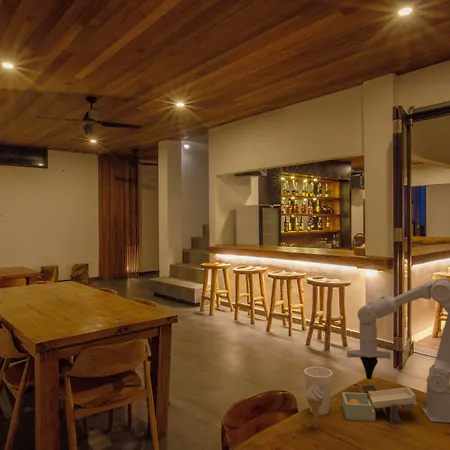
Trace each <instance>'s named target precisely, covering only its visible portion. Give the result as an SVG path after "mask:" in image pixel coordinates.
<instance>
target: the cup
mask: <svg viewBox="0 0 450 450" xmlns="http://www.w3.org/2000/svg"><path fill="white" fill-rule="evenodd" d="M351 399H355V400H357V401H358V402H359V404H353V403H348V401H349V400H351ZM341 408H342V411H343V415H344V417H345V420H346V421H362V422H376V411H375V408H374V406H373V404H372V402H371V399H370V398H368V394H367V393H364V392H351V391H350V392H348V391H347V392H345V391H343V392H341Z"/></svg>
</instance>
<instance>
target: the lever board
mask: <svg viewBox="0 0 450 450" xmlns="http://www.w3.org/2000/svg"><path fill="white" fill-rule="evenodd" d="M361 388H362V392H363V393H367V395H368V396H369V400H370V402H371V404H372V406H373V408H374V409H380V408H381V407H390V406H392V405H398V406H401V407H402V409H403V410H404V411H412V410H415V405H416V406H417V405H418V403H417V397H416V393H414V392H413V390H412V389H411V388H410V385H405V386H404V387H399V388H389V389H383V390H381V389H380V390H377V389H376V388H375V385H374V384H372V385H371V384H370V385H364V386H361ZM381 409H382V408H381Z"/></svg>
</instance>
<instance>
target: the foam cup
mask: <svg viewBox="0 0 450 450" xmlns="http://www.w3.org/2000/svg"><path fill="white" fill-rule="evenodd" d="M303 372H304V375H303V376H304V380H305V388H306V392H307V391H308V390H309V388H310V387H311V386H312V384H313V383H314V381H316V383H317V385H318V386H319V388H320V389H321V391H322V392H323V394H324V396H323V397H324V399H323V401H322V405H320V406H319V409H318V416H323V415H324V416H325V415H327V414H328V413H329V409H330V403H331V394H332V385H333V382H334V379H333V378H334V377H333V376H334V374H333V373H334V372H333V370H331V369H329V368H326V367H321V366H311V367H306V368H304V371H303ZM307 403H308V409H309V412H310V413H312V414H313V412H312V406H311V405H310V404H309V402H308V401H307Z"/></svg>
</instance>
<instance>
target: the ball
mask: <svg viewBox="0 0 450 450" xmlns="http://www.w3.org/2000/svg"><path fill="white" fill-rule="evenodd" d="M348 403H353V404H359V402H358V401H357V400H355V399H351V400H349V401H348Z"/></svg>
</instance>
